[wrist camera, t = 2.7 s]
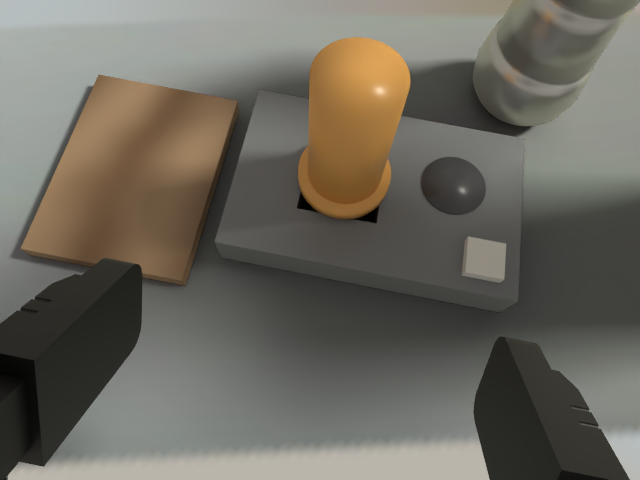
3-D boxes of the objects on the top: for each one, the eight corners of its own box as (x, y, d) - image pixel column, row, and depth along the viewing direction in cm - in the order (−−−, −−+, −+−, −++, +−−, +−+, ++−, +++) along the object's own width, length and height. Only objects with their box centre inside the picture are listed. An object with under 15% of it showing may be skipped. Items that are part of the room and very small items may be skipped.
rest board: (239, 110, 32) (237, 100, 31) (185, 286, 27) (181, 280, 26) (104, 85, 32) (98, 74, 31) (29, 254, 27) (20, 248, 27)
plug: (386, 172, 30) (429, 39, 20) (374, 245, 29) (415, 140, 18) (307, 157, 31) (310, 18, 20) (290, 230, 29) (284, 117, 18)
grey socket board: (507, 160, 31) (529, 133, 28) (499, 312, 27) (523, 298, 25) (262, 114, 32) (258, 82, 29) (221, 257, 28) (212, 237, 25)
